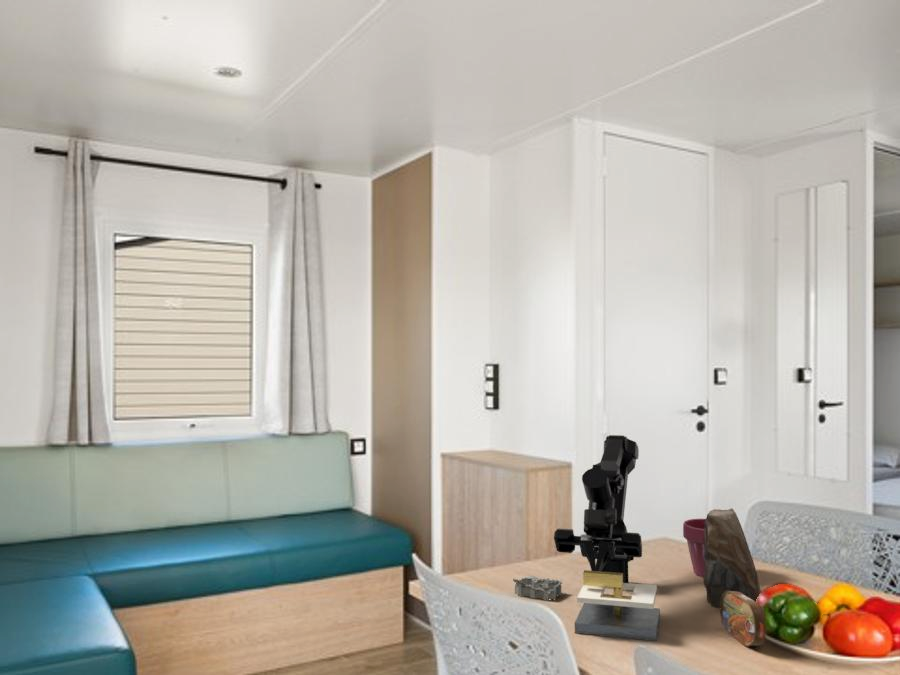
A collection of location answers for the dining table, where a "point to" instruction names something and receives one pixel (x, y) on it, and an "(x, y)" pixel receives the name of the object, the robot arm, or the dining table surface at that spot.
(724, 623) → the tin
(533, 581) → the egg carton
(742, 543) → the dark brown tall lump
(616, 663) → the dining table surface
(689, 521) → the plant pot
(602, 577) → the key
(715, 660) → the dining table surface
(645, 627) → the grey flat block
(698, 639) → the dining table surface
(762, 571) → the dining table surface
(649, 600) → the cover
